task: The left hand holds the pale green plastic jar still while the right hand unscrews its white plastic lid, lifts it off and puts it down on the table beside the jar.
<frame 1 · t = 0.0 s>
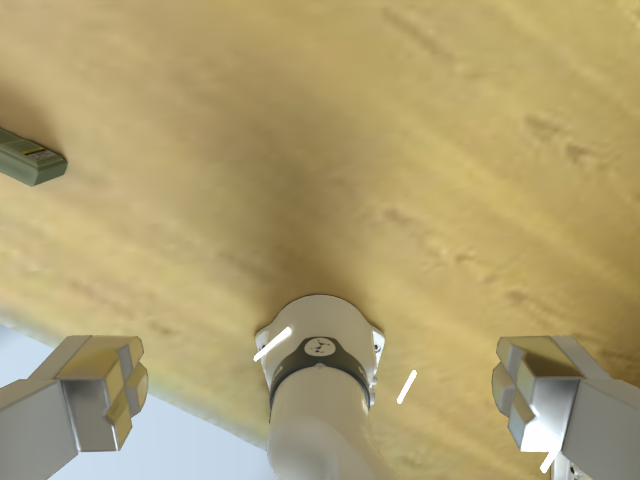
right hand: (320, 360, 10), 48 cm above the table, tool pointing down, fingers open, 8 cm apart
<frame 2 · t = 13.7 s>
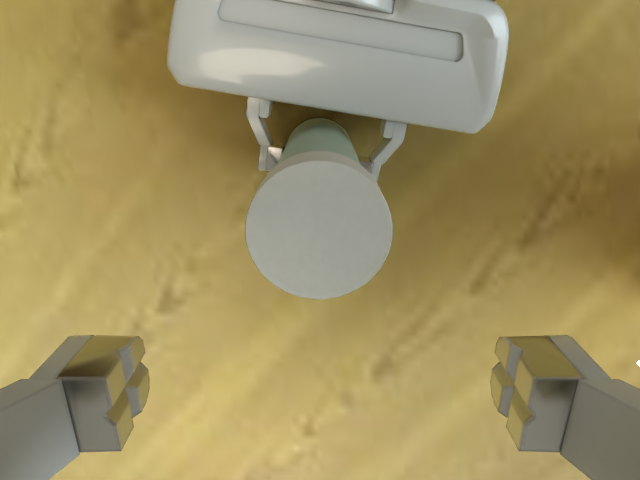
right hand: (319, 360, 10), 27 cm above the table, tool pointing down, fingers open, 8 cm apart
left hand: (317, 178, 31), fingers closed on jar, 5 cm apart
jar: (319, 151, 35), on the table, touching left hand
lid: (318, 231, 18), point 18 cm above the table, screwed on, not yet turned
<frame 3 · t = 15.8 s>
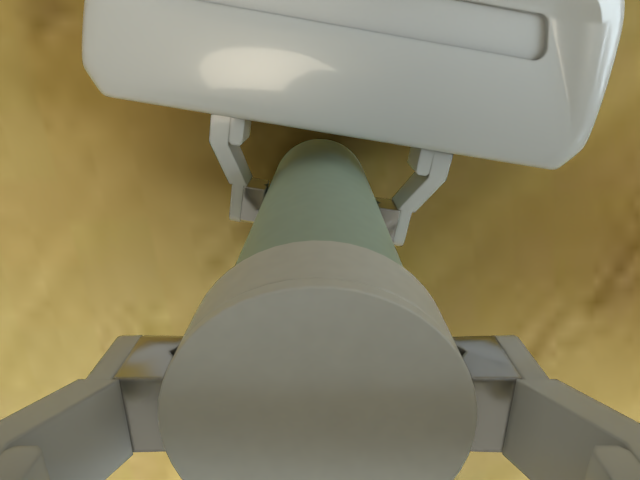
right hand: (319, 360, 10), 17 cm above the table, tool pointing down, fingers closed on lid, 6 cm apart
left hand: (317, 230, 21), fingers closed on jar, 5 cm apart
jar: (319, 184, 26), on the table, touching left hand
lid: (317, 415, 9), point 18 cm above the table, screwed on, not yet turned, touching right hand
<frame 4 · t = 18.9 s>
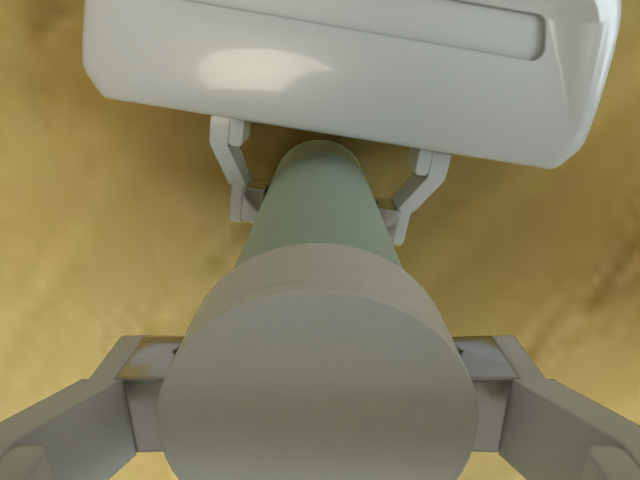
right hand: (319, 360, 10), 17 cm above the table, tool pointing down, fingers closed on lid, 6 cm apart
left hand: (317, 230, 21), fingers closed on jar, 5 cm apart
jar: (319, 184, 26), on the table, touching left hand
lid: (317, 419, 9), point 18 cm above the table, turned 76° so far, risen 0.1 cm, still on its thread, touching right hand
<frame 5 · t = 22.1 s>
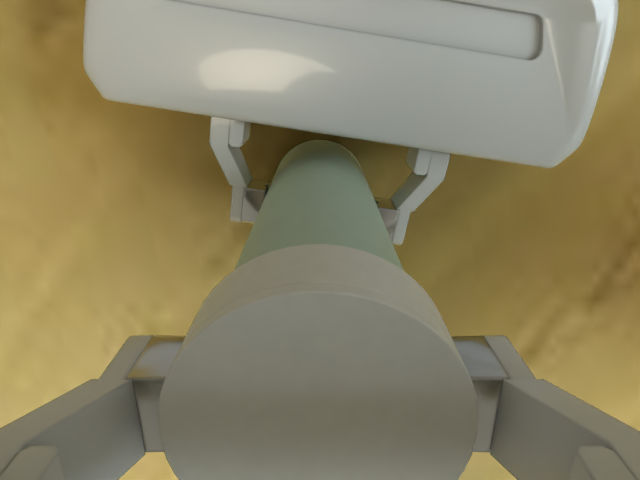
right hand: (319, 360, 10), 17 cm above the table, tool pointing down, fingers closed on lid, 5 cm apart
left hand: (317, 230, 21), fingers closed on jar, 5 cm apart
jar: (319, 184, 26), on the table, touching left hand
lid: (318, 420, 9), point 19 cm above the table, turned 152° so far, risen 0.2 cm, still on its thread, touching right hand
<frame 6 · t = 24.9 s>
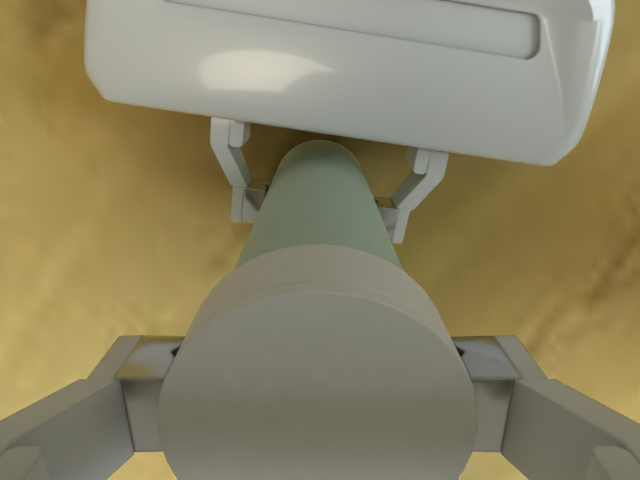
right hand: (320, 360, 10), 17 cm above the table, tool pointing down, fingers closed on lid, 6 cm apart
left hand: (317, 229, 22), fingers closed on jar, 5 cm apart
jar: (319, 184, 26), on the table, touching left hand
lid: (317, 420, 9), point 19 cm above the table, turned 228° so far, risen 0.4 cm, still on its thread, touching right hand
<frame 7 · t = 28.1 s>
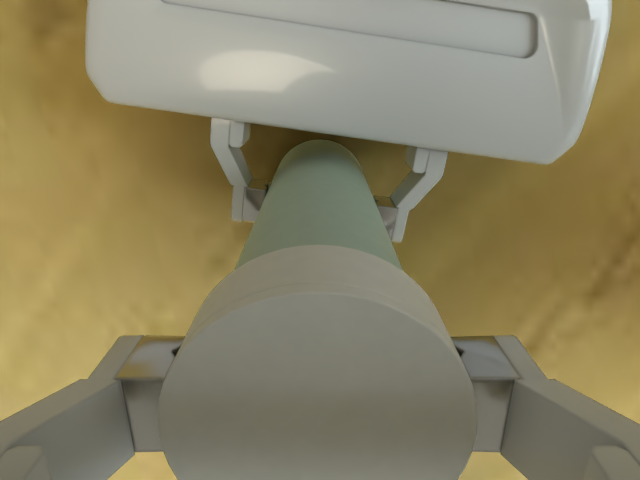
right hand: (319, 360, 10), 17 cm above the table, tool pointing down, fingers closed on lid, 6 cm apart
left hand: (317, 228, 22), fingers closed on jar, 5 cm apart
jar: (319, 184, 26), on the table, touching left hand
lid: (317, 420, 9), point 19 cm above the table, turned 303° so far, risen 0.5 cm, still on its thread, touching right hand
when the right hand's fingers open (2 cm above the table, at t = 37.5 s): lid drops 2 cm, point 2 cm above the table.
when the left hand's fingers open (5 cm above the table, at t = 38.6 s): jar stays where it is, on the table.
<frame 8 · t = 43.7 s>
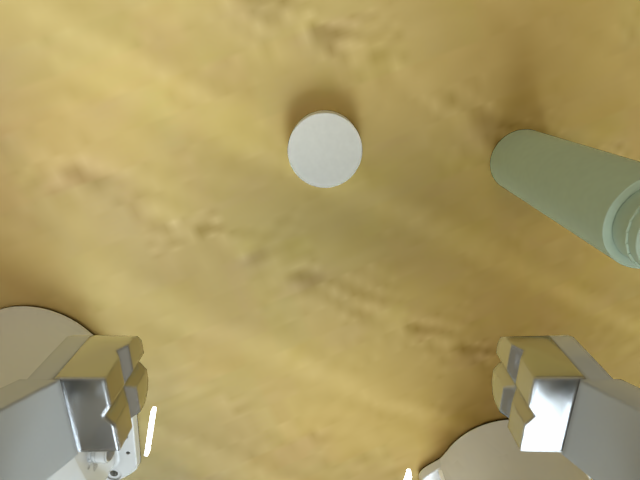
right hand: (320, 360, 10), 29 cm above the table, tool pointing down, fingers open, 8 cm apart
jar: (520, 160, 38), on the table
lid: (324, 150, 36), point 2 cm above the table, off its thread
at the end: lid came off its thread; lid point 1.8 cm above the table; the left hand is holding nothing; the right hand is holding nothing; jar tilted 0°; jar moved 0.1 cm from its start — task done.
